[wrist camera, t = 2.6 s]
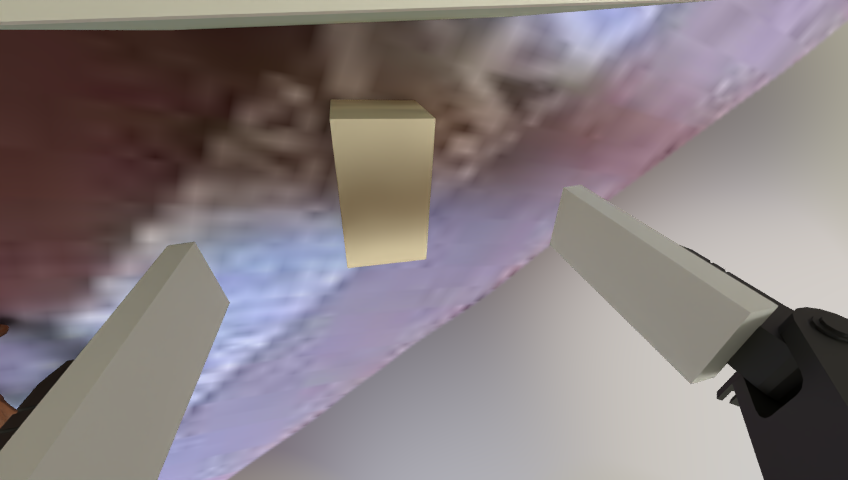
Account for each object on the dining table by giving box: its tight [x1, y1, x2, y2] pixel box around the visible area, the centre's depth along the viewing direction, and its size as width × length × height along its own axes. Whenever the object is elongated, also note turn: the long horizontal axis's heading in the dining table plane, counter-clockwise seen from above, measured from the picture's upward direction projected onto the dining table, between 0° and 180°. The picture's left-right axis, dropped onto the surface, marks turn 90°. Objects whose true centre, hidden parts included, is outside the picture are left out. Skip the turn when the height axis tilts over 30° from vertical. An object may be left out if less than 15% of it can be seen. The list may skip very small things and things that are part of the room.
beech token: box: [330, 99, 435, 268], centre depth 15 cm, size 7×4×4 cm, turn 177°
